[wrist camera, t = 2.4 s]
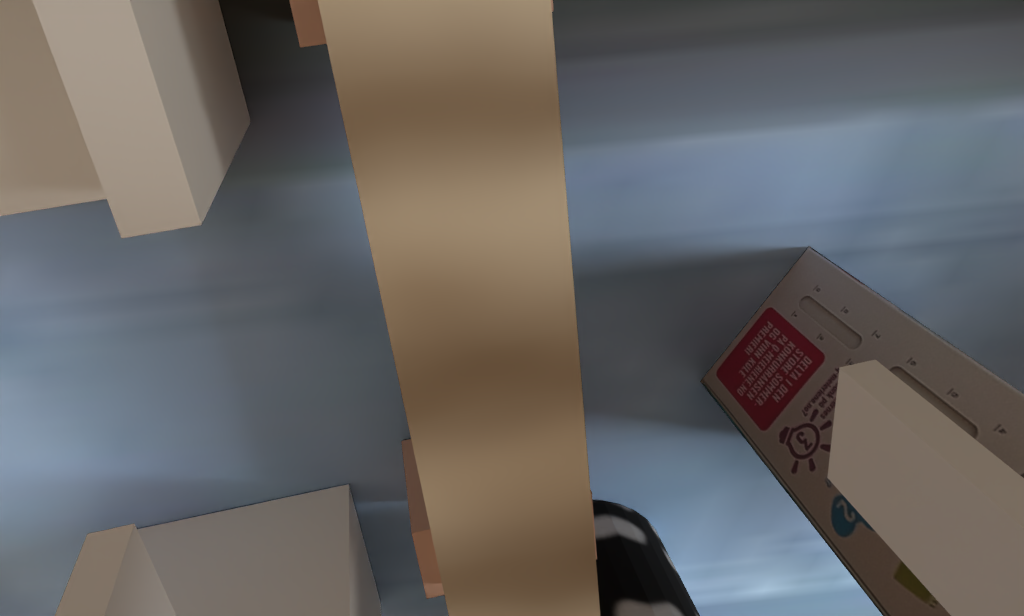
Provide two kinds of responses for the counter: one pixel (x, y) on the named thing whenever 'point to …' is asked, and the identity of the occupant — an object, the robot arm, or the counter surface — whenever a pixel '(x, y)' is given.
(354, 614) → the end caps
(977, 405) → the juice carton
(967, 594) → the robot arm
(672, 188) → the counter surface
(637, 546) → the spotted tube
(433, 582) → the plain brown rectangular block
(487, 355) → the birch slat
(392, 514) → the counter surface
